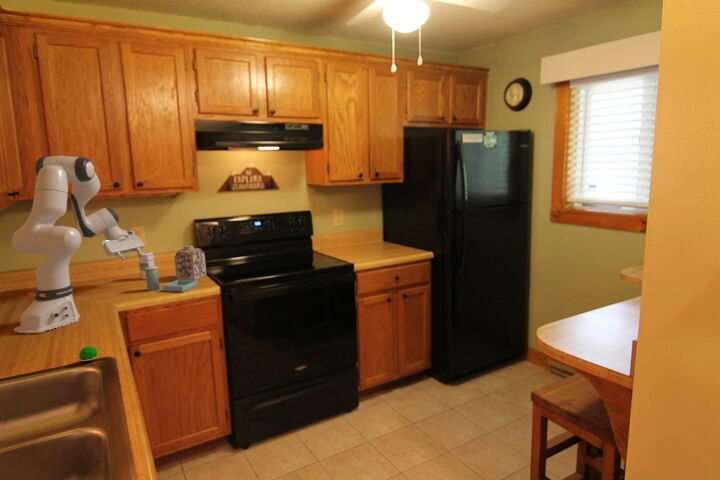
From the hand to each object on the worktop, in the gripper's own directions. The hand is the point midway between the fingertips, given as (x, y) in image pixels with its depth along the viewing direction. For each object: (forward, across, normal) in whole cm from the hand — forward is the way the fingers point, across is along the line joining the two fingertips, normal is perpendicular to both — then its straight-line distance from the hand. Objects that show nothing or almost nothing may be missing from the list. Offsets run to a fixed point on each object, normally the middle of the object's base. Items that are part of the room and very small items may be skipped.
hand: (132, 257), depth 229 cm
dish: (+29, +6, -6) cm, 30 cm away
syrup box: (+4, +16, +18) cm, 25 cm away
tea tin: (+20, 0, +3) cm, 20 cm away
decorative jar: (+21, +25, +2) cm, 33 cm away
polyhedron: (+55, -70, -32) cm, 95 cm away
